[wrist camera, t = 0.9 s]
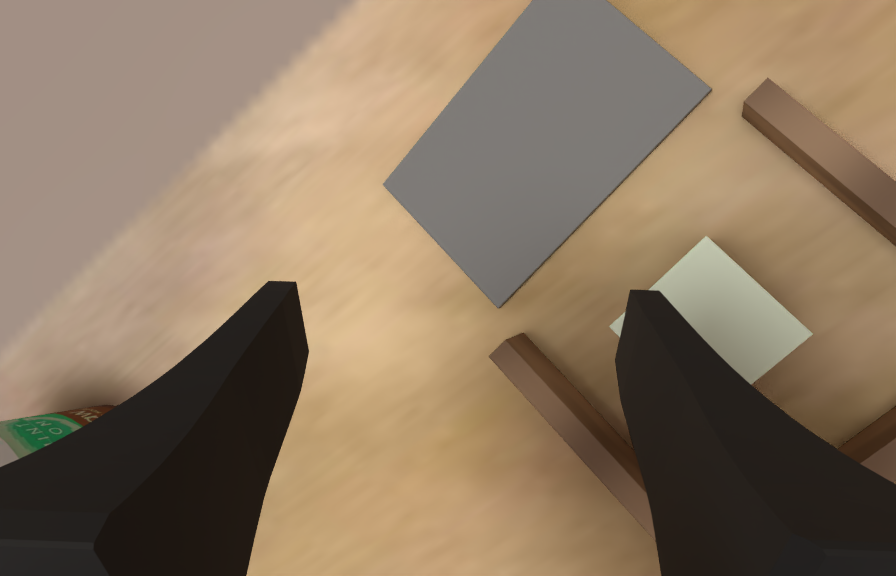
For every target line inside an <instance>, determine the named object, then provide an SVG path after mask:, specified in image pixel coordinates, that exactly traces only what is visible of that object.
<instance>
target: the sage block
mask: <svg viewBox="0 0 896 576" xmlns="http://www.w3.org/2000/svg"><path fill="white" fill-rule="evenodd" d="M649 290H659V291H660V292H661V293H662V294H663V295H664V296H665V297H666V298H667V299H668V301H669V302H670V303H671V304H672V305H673V306H674V307H675V308H676V309H677V311H678V312H679V313H680V314H681V315H682V316H683V317H684V318H685V319H686V321H687V322H688V323H689V324H690V325H691V326H692V327H693V328H694V329H695V330H696V332H697V333H698V334H699V335H700V336H701V337H702V338H703V339H704V340H705V341H706V342H707V343H708V344H709V345H710V346H711V347H712V348H713V349H714V350H715V351H716V352H717V353H718V354H719V355H720V356H721V357H722V358H723V359H724V360H725V361H726V362H727V363H728V364H729V365H730V366H731V367H732V368H733V369H734V370H735V371H736V372H738V373H739V374H740V375H741V376H742V377H743V378H744V379H745V380H746V381H747V382H749V383H750V384H753V383H754V382H755V381H756V380H757V379H759V378H760V377H761V376H762V375H764V374H765V373H766V372H767V371H768V370H770V369H771V368H772V367H773V366H775V365H776V364H777V363H778V362H780V361H781V360H782V359H783V358H784V357H786V356H787V355H788V354H789V353H791V352H792V351H793V350H794V349H795V348H797V347H798V346H799V345H800V344H802V343H803V342H804V341H805V340H806V339H808V338H809V337H810V336H811V335H813V333H811V332H810V331H809V330H808V329H807V328H806V327H805V326H804V325H803V324H802V323H801V322H799V321H798V320H797V319H796V318H795V317H794V316H793V315H792V314H791V313H790V312H789V311H788V310H786V309H785V308H784V307H783V306H782V305H781V304H780V303H779V302H778V301H777V300H776V299H775V298H773V297H772V296H771V295H770V294H769V293H768V292H767V291H766V290H765V289H764V288H763V287H761V286H760V285H759V284H758V283H757V282H756V281H755V280H754V279H753V278H752V277H751V276H750V275H748V274H747V273H746V272H745V271H744V270H743V269H742V268H741V267H740V266H739V265H738V264H736V263H735V262H734V261H733V260H732V259H731V258H730V257H729V256H728V255H727V254H726V253H725V252H723V251H722V250H721V249H720V248H719V247H718V246H717V245H716V244H715V243H714V242H713V241H711V240H710V239H709V238H708V237H707V236H705V237H704V238H703V239H702V240H701V241H700V242H699V243H698V244H697V245H696V246H695V247H694V248H693V249H692V250H690V251H689V252H688V253H687V254H686V255H685V256H684V257H683V258H682V259H681V260H680V261H679V262H678V263H677V264H675V265H674V266H673V267H672V268H671V269H670V270H669V271H668V272H667V273H666V274H665V275H664V276H663V277H662V278H661V279H659V280H658V281H657V282H656V283H655V284H654V285H653V286H652V287H651V288H650V289H649ZM625 312H626V311H625ZM625 312H624V313H623V314H622V315H621V316H620V317H619V318H618V319H617V320H616V321H615V322H613V323H612V324H611V325H610V326H609V327H610V328H611V329H612V330H613V331H614V332H615V333H616V334H617V335H618V336H619V337H620V335H621V330H622V326H623V321H624V317H625Z"/></svg>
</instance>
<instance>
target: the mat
mask: <svg viewBox="0 0 896 576" xmlns="http://www.w3.org/2000/svg"><path fill="white" fill-rule="evenodd" d="M710 92H711V88H710V87H709V86H707V85H706V84H705V83H704V82H703V81H701V80H700V79H699V78H698V77H697V76H696V75H694V74H693V73H692V72H691V71H690V70H688V69H687V68H686V67H685V66H684V65H682V64H681V63H680V62H679V61H678V60H677V59H675V58H674V57H673V56H672V55H671V54H669V53H668V52H667V51H666V50H665V49H663V48H662V47H661V46H660V45H659V44H658V43H656V42H655V41H654V40H653V39H652V38H650V37H649V36H648V35H647V34H646V33H644V32H643V31H642V30H641V29H640V28H639V27H637V26H636V25H635V24H634V23H633V22H631V21H630V20H629V19H628V18H627V17H625V16H624V15H623V14H622V13H621V12H620V11H618V10H617V9H616V8H615V7H614V6H612V5H611V4H610V3H609V2H608V1H606V0H532V2H531V3H530V4H529V5H528V7H527V8H526V9H525V10H524V11H523V13H522V14H521V15H520V16H519V18H518V19H517V20H516V21H515V23H514V24H513V25H512V26H511V27H510V29H509V30H508V31H507V32H506V34H505V35H504V36H503V37H502V38H501V40H500V41H499V42H498V43H497V45H496V46H495V47H494V48H493V50H492V51H491V52H490V53H489V54H488V56H487V57H486V58H485V59H484V61H483V62H482V63H481V64H480V65H479V67H478V68H477V69H476V70H475V72H474V73H473V74H472V75H471V77H470V78H469V79H468V80H467V81H466V83H465V84H464V85H463V86H462V88H461V89H460V90H459V91H458V92H457V94H456V95H455V96H454V97H453V99H452V100H451V101H450V102H449V104H448V105H447V106H446V107H445V108H444V110H443V111H442V112H441V113H440V115H439V116H438V117H437V118H436V119H435V121H434V122H433V123H432V124H431V126H430V127H429V128H428V129H427V131H426V132H425V133H424V134H423V135H422V137H421V138H420V139H419V140H418V142H417V143H416V144H415V145H414V146H413V148H412V149H411V150H410V151H409V153H408V154H407V155H406V156H405V158H404V159H403V160H402V161H401V162H400V164H399V165H398V166H397V167H396V169H395V170H394V171H393V172H392V173H391V175H390V176H389V177H388V178H387V180H386V181H385V182H384V183H383V185H384V187H385V188H386V189H387V190H388V191H389V192H390V193H391V194H392V195H393V196H394V197H395V198H396V199H397V201H398V202H399V203H400V204H401V205H402V206H403V207H404V208H405V209H406V210H407V211H408V212H409V213H410V214H411V216H412V217H413V218H414V219H415V220H416V221H417V222H418V223H419V224H420V225H421V226H422V227H423V228H424V230H425V231H426V232H427V233H428V234H429V235H430V236H431V237H432V238H433V239H434V240H435V241H436V242H437V243H438V245H439V246H440V247H441V248H442V249H443V250H444V251H445V252H446V253H447V254H448V255H449V256H450V257H451V259H452V260H453V261H454V262H455V263H456V264H457V265H458V266H459V267H460V268H461V269H462V270H463V271H464V272H465V274H466V275H467V276H468V277H469V278H470V279H471V280H472V281H473V282H474V283H475V284H476V285H477V286H478V287H479V289H480V290H481V291H482V292H483V293H484V294H485V295H486V296H487V297H488V298H489V299H490V300H491V301H492V303H493V304H494V305H495V306H496V307H497V308H500V307H501V306H502V305H503V304H504V303H505V302H506V301H507V300H508V299H509V298H510V297H511V296H512V295H513V294H514V293H515V292H516V291H517V290H518V289H519V288H520V287H521V286H522V285H523V284H524V283H525V282H526V281H527V280H528V279H529V278H530V277H531V276H532V275H533V273H534V272H535V271H536V270H537V269H538V268H539V267H540V266H541V265H542V264H543V263H544V262H545V261H546V260H547V259H548V258H549V257H550V256H551V255H552V254H553V253H554V252H555V251H556V250H557V249H558V248H559V247H560V246H561V245H562V244H563V243H564V242H565V241H566V240H567V239H568V238H569V237H570V235H571V234H572V233H573V232H574V231H575V230H576V229H577V228H578V227H579V226H580V225H581V224H582V223H583V222H584V221H585V220H586V219H587V218H588V217H589V216H590V215H591V214H592V213H593V212H594V211H595V210H596V209H597V208H598V207H599V206H600V205H601V204H602V203H603V202H604V201H605V200H606V199H607V198H608V196H609V195H610V194H611V193H612V192H613V191H614V190H615V189H616V188H617V187H618V186H619V185H620V184H621V183H622V182H623V181H624V180H625V179H626V178H627V177H628V176H629V175H630V174H631V173H632V172H633V171H634V170H635V169H636V168H637V167H638V166H639V165H640V164H641V163H642V162H643V161H644V160H645V159H646V157H647V156H648V155H649V154H650V153H651V152H652V151H653V150H654V149H655V148H656V147H657V146H658V145H659V144H660V143H661V142H662V141H663V140H664V139H665V138H666V137H667V136H668V135H669V134H670V133H671V132H672V131H673V130H674V129H675V128H676V127H677V126H678V125H679V124H680V123H681V122H682V121H683V119H684V118H685V117H686V116H687V115H688V114H689V113H690V112H691V111H692V110H693V109H694V108H695V107H696V106H697V105H698V104H699V103H700V102H701V101H702V100H703V99H704V98H705V97H706V96H707V95H708V94H709V93H710Z"/></svg>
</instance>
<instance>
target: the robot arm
mask: <svg viewBox="0 0 896 576" xmlns="http://www.w3.org/2000/svg"><path fill="white" fill-rule="evenodd" d="M308 353H309V349H308V344H307V338H306V333H305V328H304V322H303V317H302V311H301V306H300V300H299V295H298V290H297V284H296V282H286V281H268V282H267V283H266V284H265V285H264V286H263V287H262V288H261V289H259V290H258V291H257V292H256V293H255V294H254V295H253V296H252V297H251V298H250V299H249V300H248V301H247V302H246V303H245V304H244V305H243V306H242V307H241V308H240V309H239V310H238V311H237V312H235V313H234V314H233V315H232V316H231V317H230V318H229V319H228V320H227V321H226V322H225V323H224V324H223V325H222V326H221V327H220V328H218V329H217V330H216V331H215V332H214V333H213V334H212V335H211V336H210V337H209V338H208V339H206V340H205V341H204V342H203V343H202V344H201V345H199V346H198V347H197V348H196V349H195V350H193V351H192V352H191V353H190V354H189V355H187V356H186V357H185V358H184V359H183V360H181V361H180V362H179V363H178V364H177V365H176V366H174V367H173V368H172V369H170V370H169V371H168V372H166V373H165V374H164V375H162V376H161V377H160V378H158V379H157V380H156V381H154V382H153V383H151V384H150V385H149V386H147V387H146V388H144V389H143V390H141V391H140V392H138V393H137V394H136V395H134V396H133V397H131V398H130V399H128V400H126V401H125V402H123V403H121V404H120V405H118V406H117V407H115V408H113V409H112V410H110V411H108V412H107V413H105V414H103V415H102V416H100V417H98V418H97V419H95V420H93V421H92V422H90V423H88V424H87V425H85V426H83V427H81V428H79V429H78V430H76V431H74V432H72V433H70V434H68V435H66V436H65V437H63V438H61V439H59V440H57V441H55V442H53V443H51V444H49V445H47V446H45V447H43V448H41V449H39V450H37V451H35V452H33V453H30V454H28V455H26V456H24V457H22V458H20V459H18V460H15V461H13V462H11V463H8V464H6V465H4V466H1V467H0V576H246V575H247V570H248V566H249V561H250V556H251V552H252V547H253V543H254V538H255V534H256V530H257V525H258V521H259V517H260V513H261V509H262V505H263V500H264V496H265V493H266V490H267V487H268V483H269V480H270V477H271V474H272V471H273V468H274V466H275V463H276V460H277V457H278V454H279V452H280V449H281V446H282V443H283V440H284V438H285V435H286V432H287V429H288V427H289V424H290V421H291V418H292V415H293V412H294V409H295V407H296V404H297V401H298V398H299V395H300V392H301V387H302V383H303V378H304V374H305V369H306V364H307V359H308ZM615 363H616V371H617V378H618V386H619V392H620V399H621V404H622V407H623V411H624V415H625V418H626V422H627V425H628V429H629V433H630V436H631V440H632V443H633V447H634V450H635V454H636V457H637V461H638V464H639V468H640V471H641V475H642V478H643V482H644V485H645V489H646V493H647V497H648V501H649V505H650V510H651V515H652V521H653V527H654V532H655V538H656V544H657V550H658V556H659V563H660V569H661V576H896V484H895V483H893V482H891V481H889V480H888V479H886V478H884V477H882V476H881V475H879V474H877V473H875V472H874V471H872V470H870V469H868V468H867V467H865V466H863V465H862V464H860V463H858V462H857V461H855V460H853V459H852V458H850V457H849V456H847V455H845V454H844V453H842V452H841V451H839V450H837V449H836V448H834V447H833V446H831V445H830V444H829V443H827V442H826V441H824V440H823V439H821V438H820V437H818V436H817V435H815V434H814V433H812V432H811V431H809V430H808V429H806V428H805V427H804V426H802V425H801V424H799V423H798V422H797V421H795V420H794V419H793V418H791V417H790V416H789V415H788V414H786V413H785V412H784V411H782V410H781V409H780V408H779V407H777V406H776V405H775V404H773V403H772V402H771V401H770V400H768V399H767V398H766V397H765V396H764V395H762V394H761V393H760V392H759V391H758V390H756V389H755V388H754V387H753V386H752V385H751V384H750V383H749V382H747V381H746V380H745V379H744V378H743V377H742V376H741V375H740V374H739V373H738V372H736V371H735V370H734V369H733V368H732V367H731V366H730V365H729V364H728V363H727V362H726V361H725V360H724V359H723V358H722V357H721V356H720V355H719V354H718V353H717V352H716V351H715V350H714V349H713V348H712V347H711V346H710V345H709V344H708V343H707V342H706V341H705V340H704V339H703V338H702V337H701V336H700V335H699V334H698V333H697V332H696V330H695V329H694V328H693V327H692V326H691V325H690V324H689V323H688V322H687V321H686V319H685V318H684V317H683V316H682V315H681V314H680V313H679V312H678V311H677V309H676V308H675V307H674V306H673V305H672V304H671V303H670V302H669V301H668V299H667V298H666V297H665V296H664V295H663V294H662V293H661V292H660V291H659V290H630V293H629V298H628V303H627V307H626V312H625V317H624V321H623V326H622V330H621V335H620V340H619V344H618V349H617V353H616V358H615Z"/></svg>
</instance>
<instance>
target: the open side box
mask: <svg viewBox="0 0 896 576" xmlns="http://www.w3.org/2000/svg"><path fill="white" fill-rule="evenodd" d="M742 117H743V118H744V119H746V120H747V121H748V122H749V123H750V124H752V125H753V126H754V127H755V128H756V129H757V130H759V131H760V132H761V133H762V134H763V135H765V136H766V137H767V138H768V139H769V140H771V141H772V142H773V143H774V144H775V145H776V146H778V147H779V148H780V149H781V150H782V151H784V152H785V153H786V154H787V155H788V156H790V157H791V158H792V159H793V160H794V161H795V162H797V163H798V164H799V165H800V166H801V167H803V168H804V169H805V170H806V171H807V172H809V173H810V174H811V175H812V176H813V177H814V178H816V179H817V180H818V181H819V182H820V183H822V184H823V185H824V186H825V187H826V188H827V189H829V190H830V191H831V192H832V193H833V194H835V195H836V196H837V197H838V198H839V199H841V200H842V201H843V202H844V203H845V204H846V205H848V206H849V207H850V208H851V209H852V210H854V211H855V212H856V213H857V214H858V215H860V216H861V217H862V218H863V219H864V220H865V221H867V222H868V223H869V224H870V225H871V226H873V227H874V228H875V229H876V230H877V231H879V232H880V233H881V234H882V235H883V236H884V237H886V238H887V239H888V240H889V241H890V242H892V243H893V244H894V245H895V246H896V181H894V180H893V179H892V178H891V177H889V176H888V175H887V174H886V173H885V172H883V171H882V170H881V169H880V168H878V167H877V166H876V165H875V164H873V163H872V162H871V161H870V160H869V159H867V158H866V157H865V156H864V155H862V154H861V153H860V152H859V151H857V150H856V149H855V148H854V147H853V146H851V145H850V144H849V143H848V142H846V141H845V140H844V139H843V138H841V137H840V136H839V135H838V134H837V133H835V132H834V131H833V130H832V129H830V128H829V127H828V126H827V125H825V124H824V123H823V122H822V121H821V120H819V119H818V118H817V117H816V116H814V115H813V114H812V113H811V112H809V111H808V110H807V109H806V108H805V107H803V106H802V105H801V104H800V103H798V102H797V101H796V100H795V99H793V98H792V97H791V96H790V95H789V94H787V93H786V92H785V91H784V90H782V89H781V88H780V87H779V86H777V85H776V84H775V83H774V82H773V81H771V80H770V79H769V78H767V79H766V80H765V81H764V82H763V83H762V84H761V85H760V86H759V87H758V88H757V89H756V90H755V91H754V92H753V93H752V94H751V95H750V96H749V97H748V98H747V99H746V100H745V101H744V105H743V112H742ZM489 358H490V359H491V360H492V361H493V362H494V363H495V364H496V365H497V366H498V367H499V369H500V370H501V371H502V372H503V373H504V374H505V375H506V376H507V377H508V379H509V380H510V381H511V382H512V383H513V384H514V385H515V386H516V387H517V389H518V390H519V391H520V392H521V393H522V394H523V395H524V396H525V397H526V399H527V400H528V401H529V402H530V403H531V404H532V405H533V406H534V407H535V408H536V410H537V411H538V412H539V413H540V414H541V415H542V416H543V417H544V418H545V420H546V421H547V422H548V423H549V424H550V425H551V426H552V427H553V428H554V430H555V431H556V432H557V433H558V434H559V435H560V436H561V437H562V438H563V439H564V441H565V442H566V443H567V444H568V445H569V446H570V447H571V448H572V449H573V451H574V452H575V453H576V454H577V455H578V456H579V457H580V458H581V459H582V461H583V462H584V463H585V464H586V465H587V466H588V467H589V468H590V469H591V471H592V472H593V473H594V474H595V475H596V476H597V477H598V478H599V479H600V480H601V482H602V483H603V484H604V485H605V486H606V487H607V488H608V489H609V490H610V492H611V493H612V494H613V495H614V496H615V497H616V498H617V499H618V500H619V502H620V503H621V504H622V505H623V506H624V507H625V508H626V509H627V510H628V511H629V513H630V514H631V515H632V516H633V517H634V518H635V519H636V520H637V521H638V523H639V524H640V525H641V526H642V527H643V528H644V529H645V530H646V531H647V533H648V534H649V535H650V536H651V537H652V538H653V539H654V540H655V541H656V538H655V532H654V527H653V521H652V515H651V510H650V505H649V501H648V497H647V493H646V489H645V485H644V482H643V478H642V475H641V471H640V468H639V464H638V461H637V457H636V454H635V452H634V451H633V450H632V449H631V448H630V446H629V445H628V444H627V443H626V442H625V441H624V440H623V439H622V438H621V437H620V436H619V435H618V434H617V433H616V431H615V430H614V429H613V428H612V427H611V426H610V425H609V424H608V423H607V422H606V421H605V420H604V419H603V418H602V416H601V415H600V414H599V413H598V412H597V411H596V410H595V409H594V408H593V407H592V406H591V405H590V404H589V403H588V401H587V400H586V399H585V398H584V397H583V396H582V395H581V394H580V393H579V392H578V391H577V390H576V389H575V388H574V386H573V385H572V384H571V383H570V382H569V381H568V380H567V379H566V378H565V377H564V376H563V375H562V374H561V373H560V371H559V370H558V369H557V368H556V367H555V366H554V365H553V364H552V363H551V362H550V361H549V360H548V359H547V358H546V356H545V355H544V354H543V353H542V352H541V351H540V350H539V349H538V348H537V347H536V346H535V345H534V344H533V343H532V341H531V340H530V339H529V338H528V337H527V336H526V335H525V334H524V333H521V334H519V335H516V336H514V337H511V338H509V339H506V340H505V341H504V342H503V343H502V344H501V345H500V346H499V347H498V348H497V349H496V350H495V351H494V352H493V353H492V354H491V355H490V356H489ZM837 450H839V451H841V452H842V453H844V454H845V455H847V456H849V457H850V458H852V459H853V460H855V461H857V462H858V463H860V464H862V465H863V466H865V467H867V468H868V469H870V470H872V471H874V472H875V473H877V474H879V475H881V476H882V477H884V478H886V479H888V480H889V481H891V482H893V483H894V482H895V481H896V406H895V407H894V408H893V409H891V410H890V411H889V412H887V413H886V414H885V415H883V416H882V417H880V418H879V419H878V420H876V421H875V422H874V423H872V424H871V425H870V426H868V427H867V428H865V429H864V430H863V431H861V432H860V433H859V434H857V435H856V436H855V437H853V438H852V439H850V440H849V441H848V442H846V443H845V444H844V445H842V446H841V447H840V448H838V449H837Z"/></svg>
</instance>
